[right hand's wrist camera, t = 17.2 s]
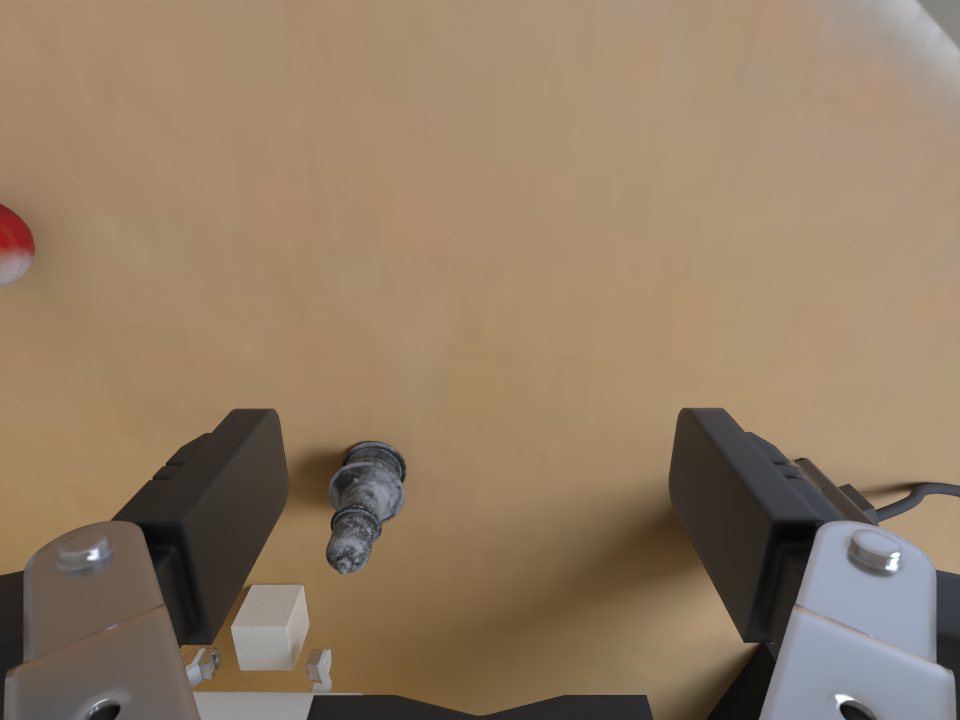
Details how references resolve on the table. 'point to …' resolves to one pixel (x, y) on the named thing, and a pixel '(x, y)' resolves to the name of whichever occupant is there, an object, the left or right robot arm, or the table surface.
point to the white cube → (271, 627)
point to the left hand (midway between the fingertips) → (267, 653)
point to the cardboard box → (749, 688)
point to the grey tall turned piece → (363, 502)
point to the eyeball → (14, 247)
